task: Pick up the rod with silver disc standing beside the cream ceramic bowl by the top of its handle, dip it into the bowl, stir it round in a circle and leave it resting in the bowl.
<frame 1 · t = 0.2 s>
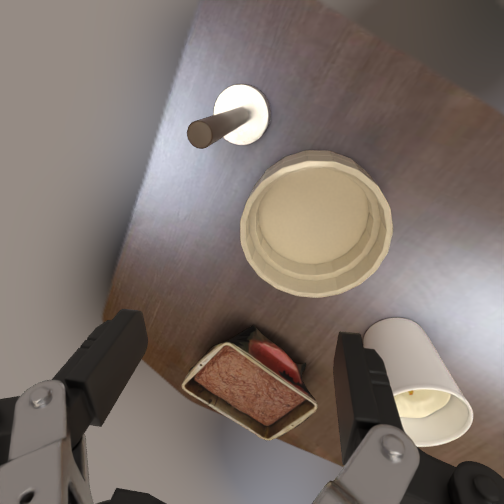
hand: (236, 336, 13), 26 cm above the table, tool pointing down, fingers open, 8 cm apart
baking dish: (253, 359, 50), on the table
bowl: (311, 215, 37), on the table
rod with silver disc: (244, 114, 33), on the table
white cup: (393, 339, 44), on the table
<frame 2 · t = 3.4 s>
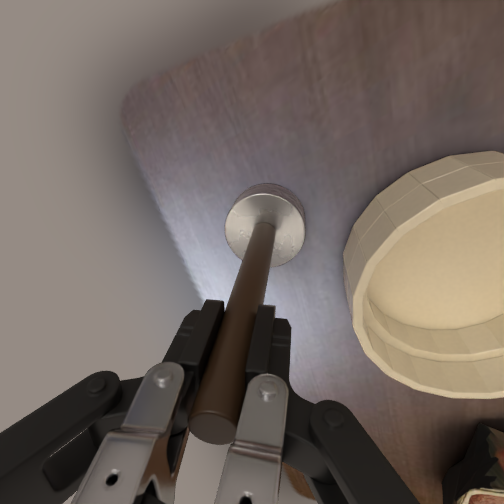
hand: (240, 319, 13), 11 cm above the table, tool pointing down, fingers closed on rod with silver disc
bowl: (449, 257, 23), on the table
rod with silver disc: (267, 219, 23), on the table, touching gripper
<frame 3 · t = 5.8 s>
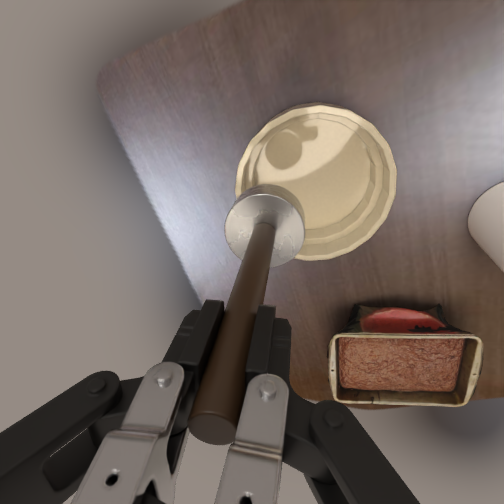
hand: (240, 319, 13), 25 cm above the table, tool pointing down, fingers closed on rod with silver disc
baking dish: (386, 334, 45), on the table
bowl: (310, 176, 35), on the table
rod with silver disc: (267, 220, 23), point 14 cm above the table, touching gripper
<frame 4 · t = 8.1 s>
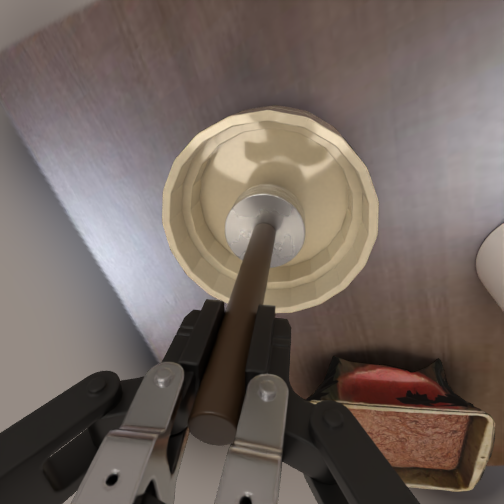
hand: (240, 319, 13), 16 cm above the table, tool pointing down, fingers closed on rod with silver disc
baking dish: (373, 390, 37), on the table
bowl: (272, 201, 27), on the table
rod with silver disc: (267, 220, 23), point 4 cm above the table, touching gripper
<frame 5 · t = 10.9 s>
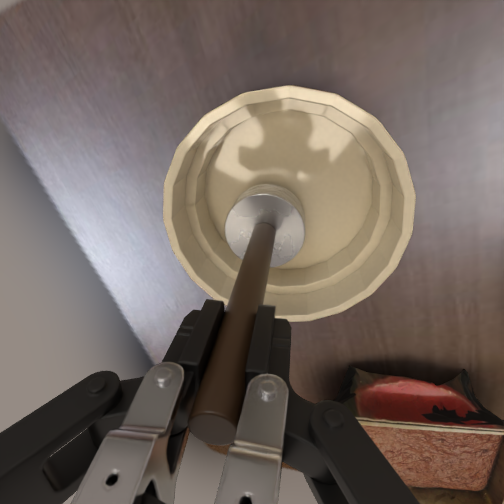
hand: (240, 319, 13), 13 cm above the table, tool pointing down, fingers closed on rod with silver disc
baking dish: (391, 401, 34), on the table
bowl: (285, 195, 24), on the table
rod with silver disc: (267, 220, 23), point 2 cm above the table, touching gripper
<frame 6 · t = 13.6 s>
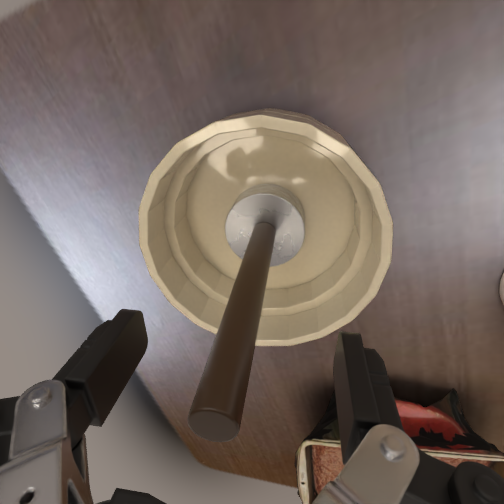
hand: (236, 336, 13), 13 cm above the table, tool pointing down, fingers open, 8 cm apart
baking dish: (380, 419, 33), on the table
bowl: (268, 216, 24), on the table
rod with silver disc: (267, 219, 24), point 1 cm above the table, touching bowl
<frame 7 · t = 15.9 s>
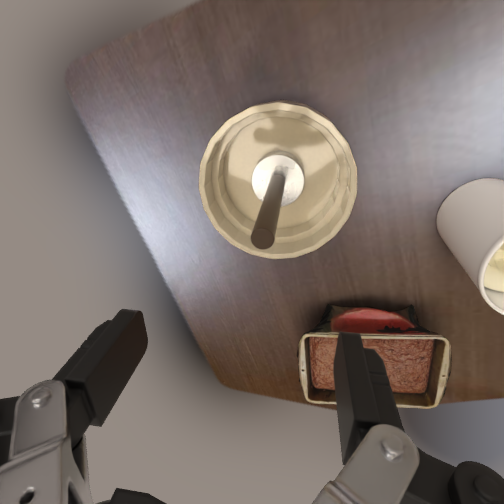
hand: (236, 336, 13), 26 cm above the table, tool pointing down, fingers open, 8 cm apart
baking dish: (360, 335, 45), on the table
bowl: (279, 174, 35), on the table
rod with silver disc: (279, 176, 35), point 1 cm above the table, touching bowl
white cup: (475, 214, 34), on the table
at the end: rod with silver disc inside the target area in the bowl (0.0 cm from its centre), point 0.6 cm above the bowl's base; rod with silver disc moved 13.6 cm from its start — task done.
